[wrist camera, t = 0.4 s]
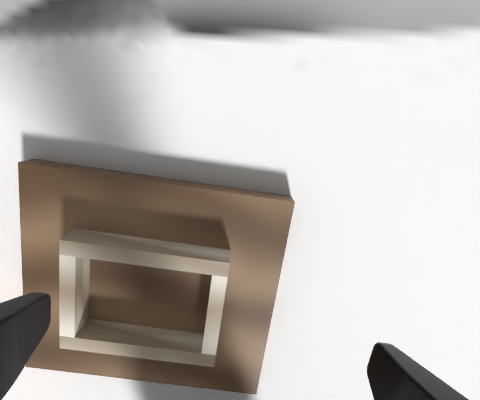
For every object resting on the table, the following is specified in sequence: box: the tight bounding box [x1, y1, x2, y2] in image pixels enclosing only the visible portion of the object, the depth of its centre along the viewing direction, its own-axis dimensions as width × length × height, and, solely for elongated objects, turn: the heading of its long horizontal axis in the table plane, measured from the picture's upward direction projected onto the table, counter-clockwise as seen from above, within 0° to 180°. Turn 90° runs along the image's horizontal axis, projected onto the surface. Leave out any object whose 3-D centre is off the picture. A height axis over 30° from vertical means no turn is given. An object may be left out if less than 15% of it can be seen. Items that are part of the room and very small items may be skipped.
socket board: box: [18, 159, 295, 394], centre depth 22 cm, size 16×18×4 cm
